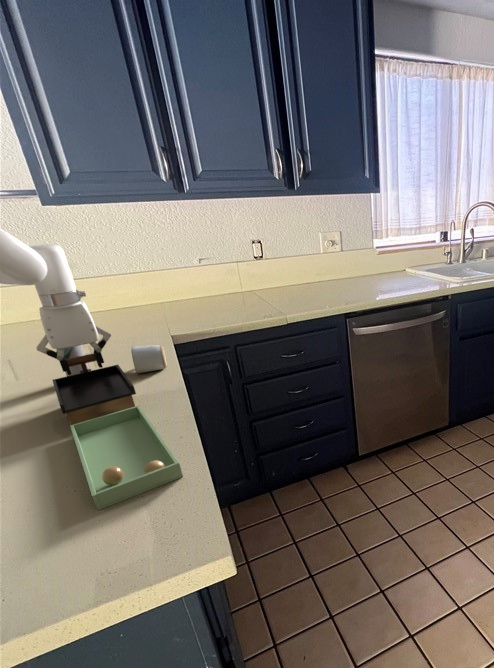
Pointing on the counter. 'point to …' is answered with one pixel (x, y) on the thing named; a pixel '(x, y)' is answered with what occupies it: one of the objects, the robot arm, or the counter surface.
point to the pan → (91, 385)
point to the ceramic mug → (149, 358)
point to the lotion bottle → (72, 353)
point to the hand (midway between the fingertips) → (84, 369)
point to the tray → (123, 455)
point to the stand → (100, 410)
